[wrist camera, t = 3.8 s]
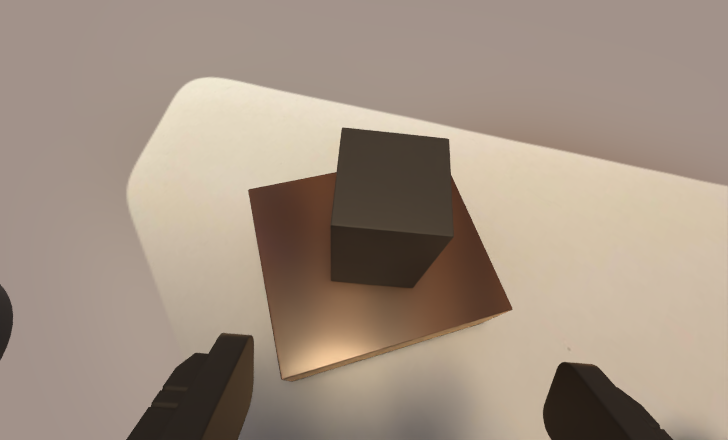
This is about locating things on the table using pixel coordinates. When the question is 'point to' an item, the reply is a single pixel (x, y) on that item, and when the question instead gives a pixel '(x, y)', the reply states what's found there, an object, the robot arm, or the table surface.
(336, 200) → the black block
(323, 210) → the brown wooden box
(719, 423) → the table surface
